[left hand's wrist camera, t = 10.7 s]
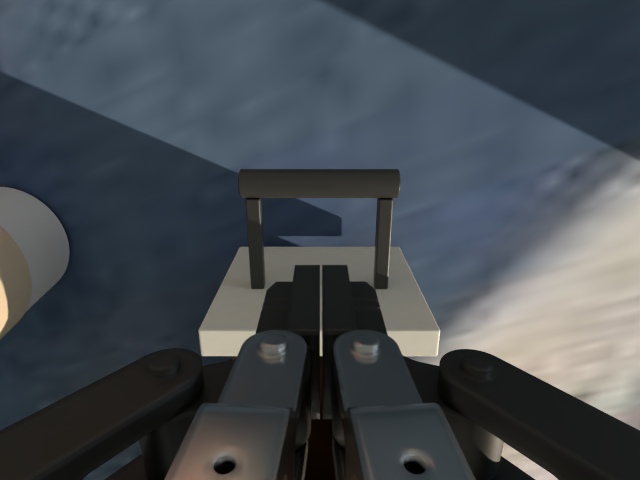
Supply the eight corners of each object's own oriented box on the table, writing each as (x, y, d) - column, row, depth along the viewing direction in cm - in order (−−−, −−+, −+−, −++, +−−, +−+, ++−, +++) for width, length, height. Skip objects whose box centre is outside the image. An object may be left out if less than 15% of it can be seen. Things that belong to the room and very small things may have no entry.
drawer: (232, 151, 22) (181, 189, 14) (406, 151, 22) (456, 189, 14) (256, 492, 31) (233, 642, 23) (382, 492, 31) (405, 642, 23)
